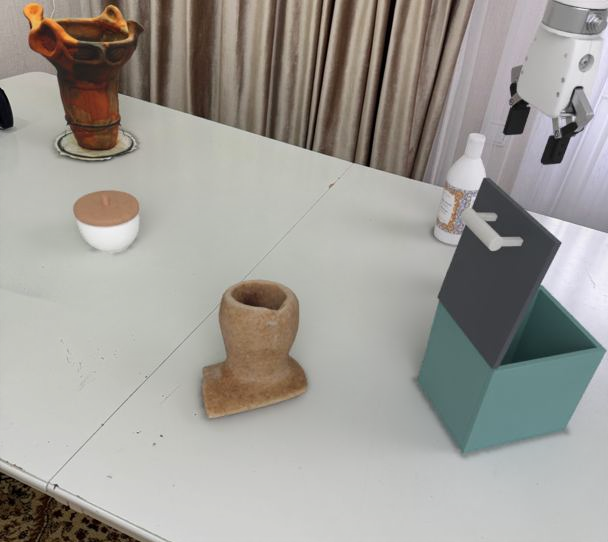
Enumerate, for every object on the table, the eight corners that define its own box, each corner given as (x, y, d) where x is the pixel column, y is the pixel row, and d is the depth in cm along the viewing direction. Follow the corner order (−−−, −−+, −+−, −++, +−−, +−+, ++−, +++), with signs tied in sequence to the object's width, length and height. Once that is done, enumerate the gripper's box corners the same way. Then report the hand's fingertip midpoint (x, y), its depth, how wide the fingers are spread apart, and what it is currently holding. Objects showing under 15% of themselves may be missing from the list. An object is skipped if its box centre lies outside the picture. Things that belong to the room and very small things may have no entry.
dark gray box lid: (489, 177, 69) (451, 176, 67) (562, 242, 59) (520, 243, 58) (442, 297, 79) (408, 298, 77) (498, 368, 70) (461, 372, 68)
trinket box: (83, 264, 105) (73, 215, 99) (78, 232, 112) (69, 184, 106) (147, 256, 108) (141, 208, 102) (139, 225, 115) (133, 178, 109)
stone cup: (284, 346, 93) (290, 263, 83) (316, 401, 85) (326, 316, 75) (185, 368, 88) (178, 282, 78) (208, 429, 80) (203, 341, 70)
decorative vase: (170, 146, 141) (159, 10, 123) (79, 175, 128) (52, 27, 109) (117, 117, 151) (100, -13, 132) (28, 141, 138) (-5, 0, 119)
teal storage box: (510, 364, 93) (541, 284, 84) (564, 431, 84) (607, 350, 74) (416, 382, 89) (438, 300, 79) (462, 454, 80) (493, 372, 70)
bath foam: (426, 230, 121) (449, 130, 108) (455, 225, 123) (482, 126, 110) (445, 249, 116) (472, 146, 103) (476, 243, 119) (506, 142, 105)
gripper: (645, 38, 73) (589, 173, 85) (558, -1, 85) (519, 122, 96) (593, 39, 71) (543, 178, 82) (511, -1, 83) (477, 125, 94)
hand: (530, 148), depth 89 cm, fingers open, 9 cm apart
